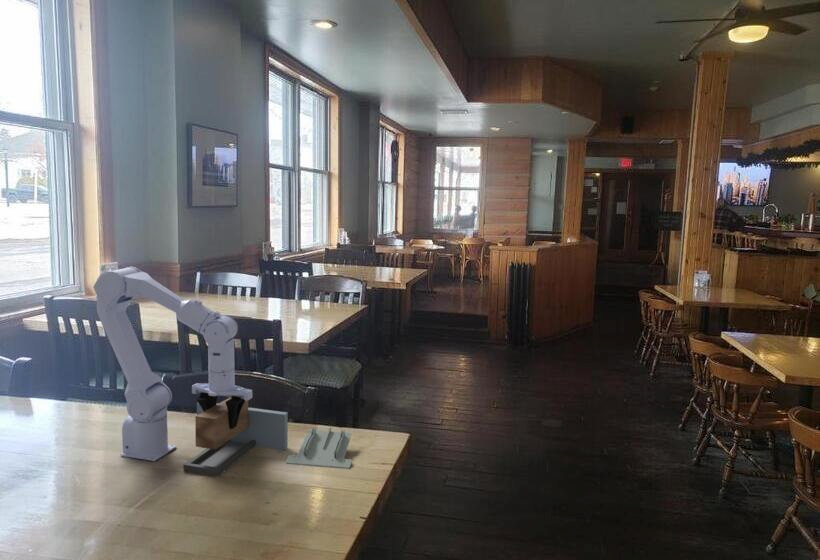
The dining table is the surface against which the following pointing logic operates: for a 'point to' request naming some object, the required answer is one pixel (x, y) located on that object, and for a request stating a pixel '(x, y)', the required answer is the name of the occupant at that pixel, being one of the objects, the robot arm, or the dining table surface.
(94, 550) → the dining table surface
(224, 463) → the wall board
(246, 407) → the brown wooden block
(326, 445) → the metal bracket
